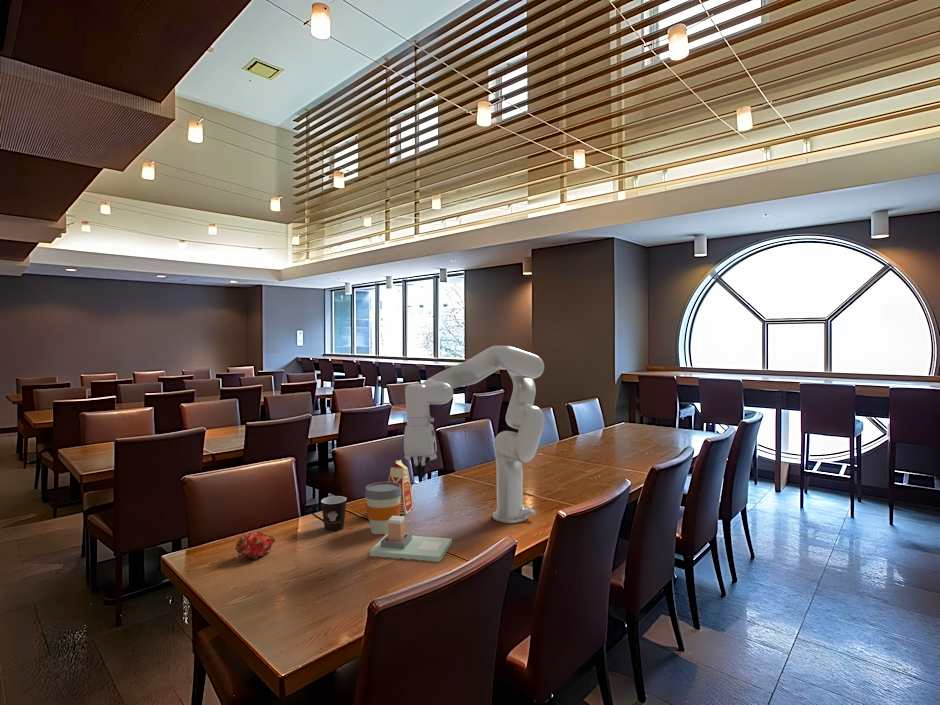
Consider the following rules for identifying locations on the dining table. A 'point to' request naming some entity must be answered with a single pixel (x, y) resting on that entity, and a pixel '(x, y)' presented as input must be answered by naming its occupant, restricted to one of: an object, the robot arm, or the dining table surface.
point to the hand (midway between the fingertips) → (421, 476)
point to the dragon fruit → (254, 545)
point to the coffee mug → (332, 512)
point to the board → (412, 548)
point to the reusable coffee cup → (382, 504)
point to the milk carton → (402, 485)
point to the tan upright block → (396, 528)
